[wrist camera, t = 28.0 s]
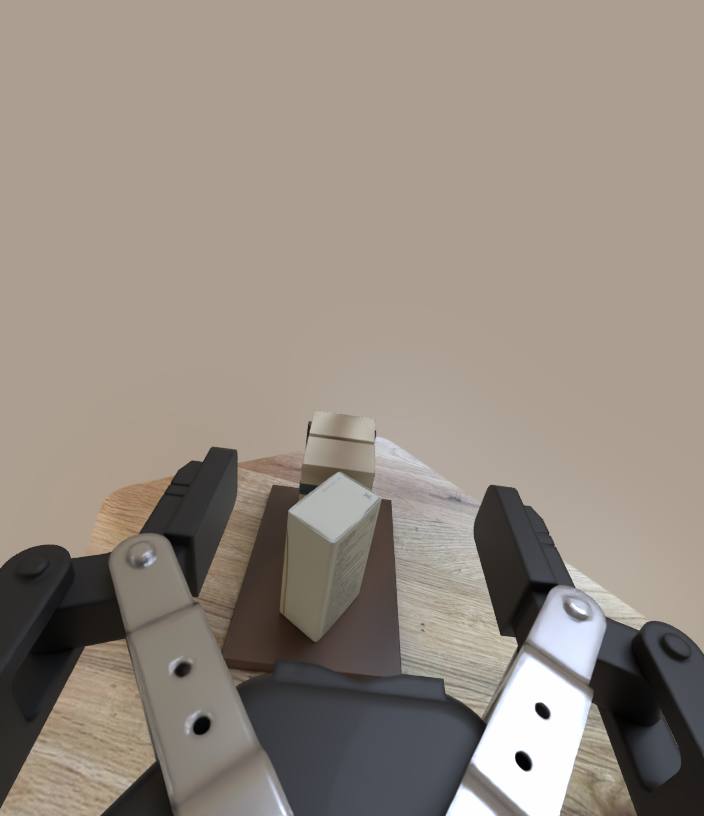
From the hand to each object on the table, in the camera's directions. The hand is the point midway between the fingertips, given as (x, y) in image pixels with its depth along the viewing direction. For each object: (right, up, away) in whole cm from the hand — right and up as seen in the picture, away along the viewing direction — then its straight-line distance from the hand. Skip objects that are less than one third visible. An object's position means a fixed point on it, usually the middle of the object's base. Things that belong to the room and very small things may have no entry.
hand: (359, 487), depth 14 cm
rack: (-3, -14, +27) cm, 31 cm away
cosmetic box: (-3, -15, +24) cm, 28 cm away
